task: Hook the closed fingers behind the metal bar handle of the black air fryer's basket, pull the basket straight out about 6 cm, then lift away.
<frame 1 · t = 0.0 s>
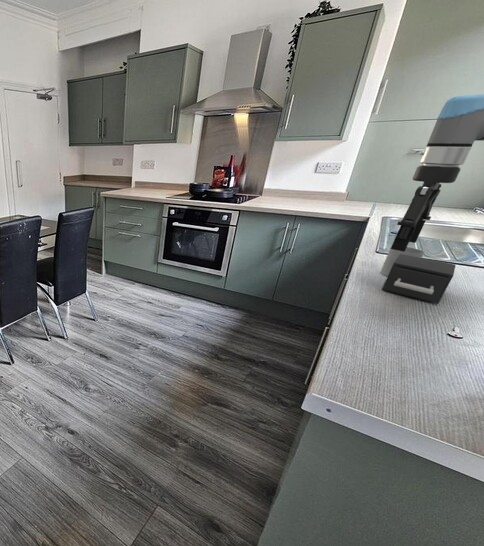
hand: (403, 245, 86), 18 cm above the worktop, tool pointing down, fingers open, 13 cm apart
air fryer: (411, 290, 101), on the worktop
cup: (395, 276, 113), on the worktop
basket: (415, 281, 96), point 5 cm above the worktop, slide at 0.5 cm
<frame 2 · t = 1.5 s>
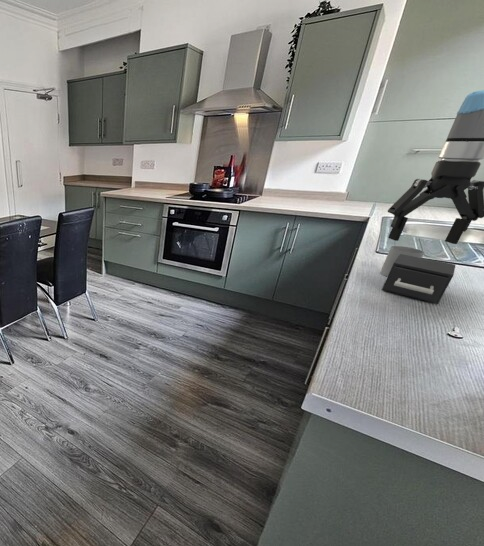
hand: (421, 241, 87), 19 cm above the worktop, tool pointing down, fingers open, 13 cm apart
nothing on the worktop moved.
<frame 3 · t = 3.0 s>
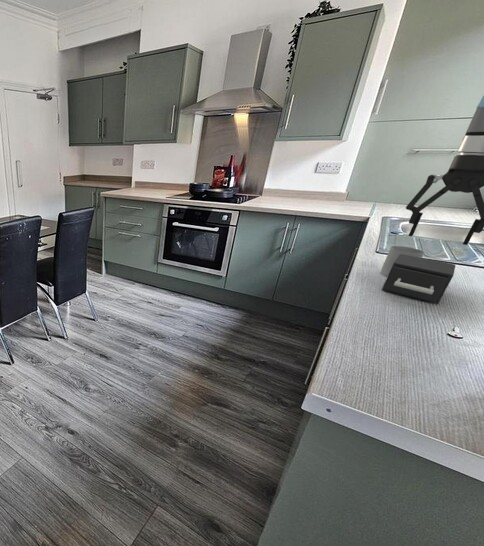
hand: (436, 239, 87), 20 cm above the worktop, tool pointing down, fingers open, 10 cm apart
nothing on the worktop moved.
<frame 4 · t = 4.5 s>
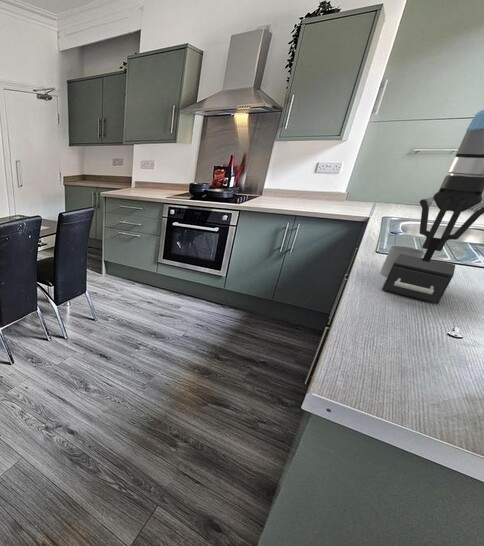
hand: (425, 260, 89), 13 cm above the worktop, tool pointing down, fingers closed
nothing on the worktop moved.
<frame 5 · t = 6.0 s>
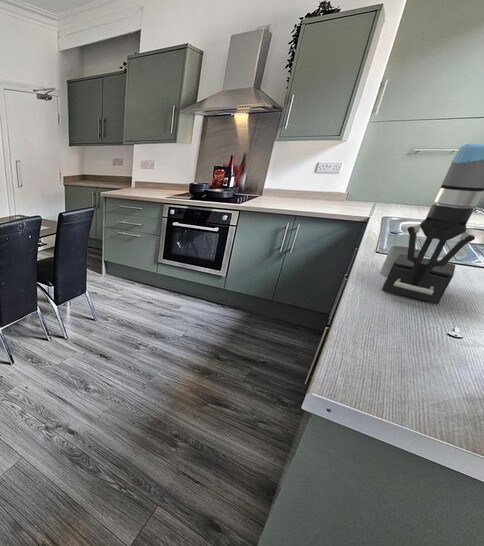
hand: (413, 285, 92), 6 cm above the worktop, tool pointing down, fingers closed
basket: (415, 281, 96), point 5 cm above the worktop, slide at 0.9 cm, touching gripper
everything else where it was.
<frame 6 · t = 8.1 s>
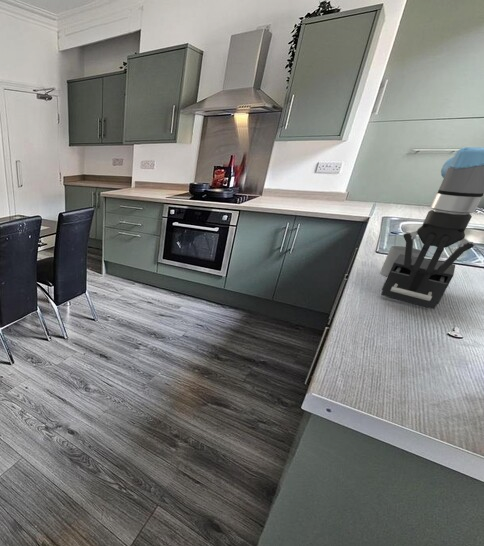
hand: (411, 293, 89), 5 cm above the worktop, tool pointing down, fingers closed
basket: (413, 287, 93), point 5 cm above the worktop, slide at 6.8 cm
everything else where it was.
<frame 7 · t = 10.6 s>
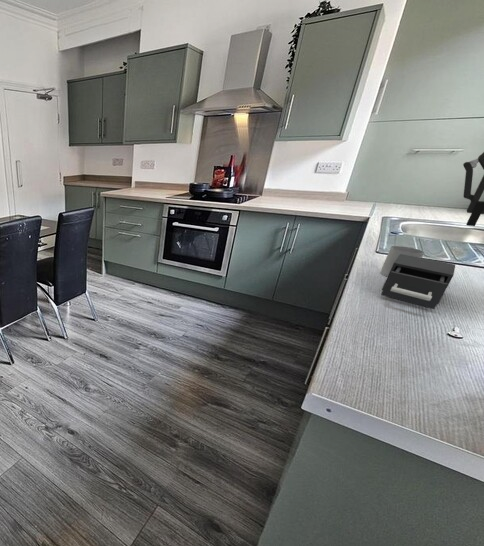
hand: (470, 224, 88), 23 cm above the worktop, tool pointing down, fingers closed
nothing on the worktop moved.
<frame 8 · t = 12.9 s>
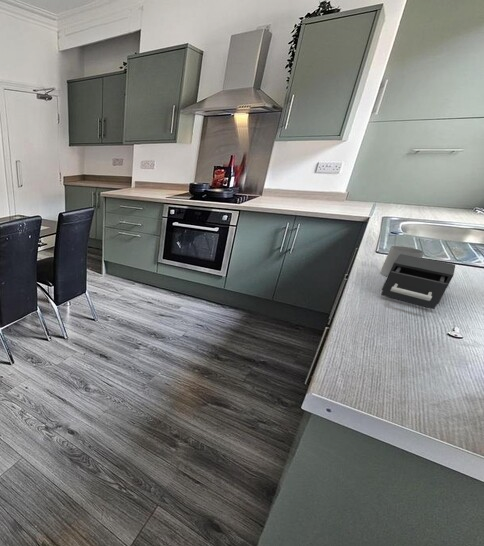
nothing on the worktop moved.
at the end: basket slide at 6.8 cm; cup moved 0.2 cm from its start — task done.
